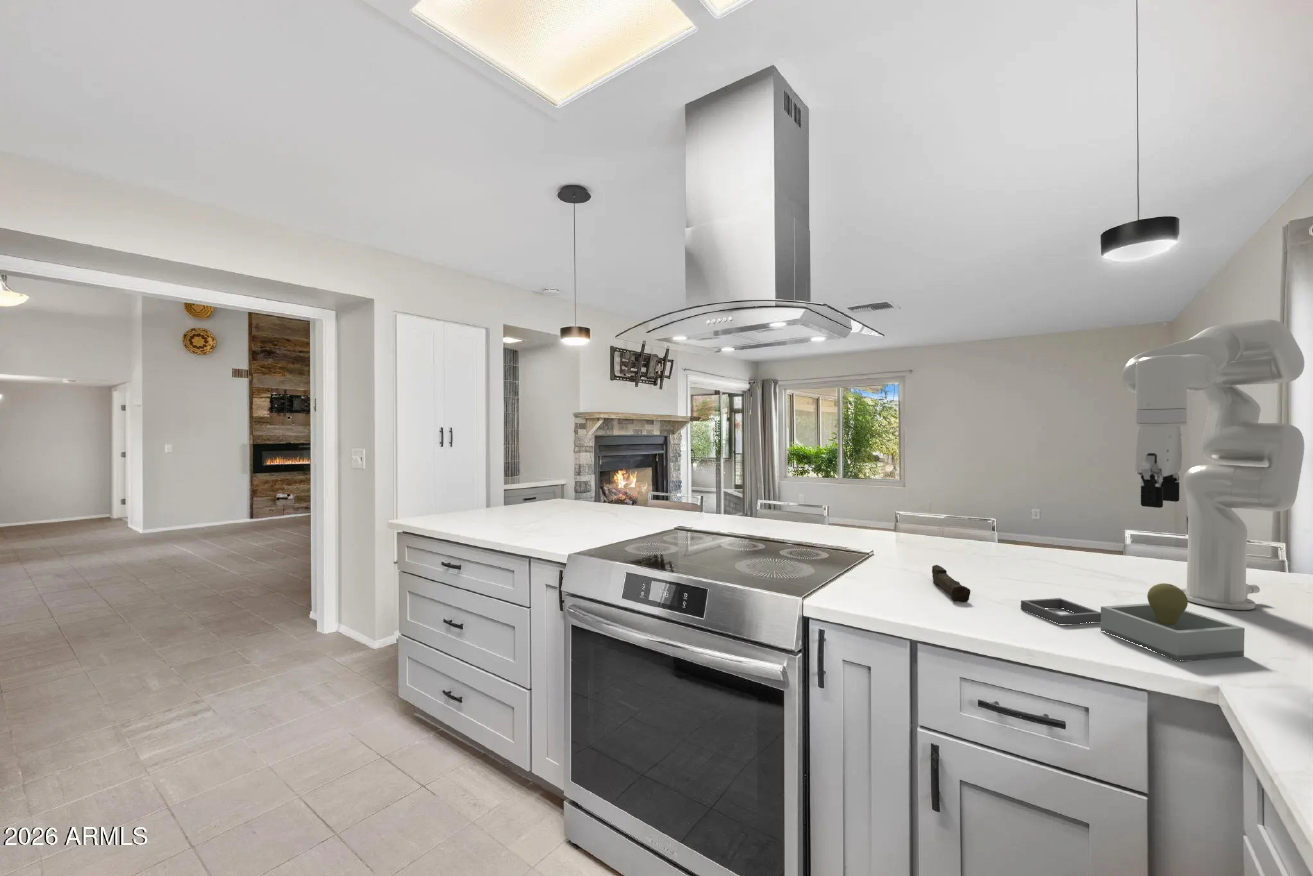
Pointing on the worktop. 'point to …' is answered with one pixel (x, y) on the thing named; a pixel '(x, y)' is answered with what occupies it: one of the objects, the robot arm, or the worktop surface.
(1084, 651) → the worktop surface
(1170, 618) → the light bulb
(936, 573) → the hand tool
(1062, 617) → the bulb holder
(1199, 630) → the bin
